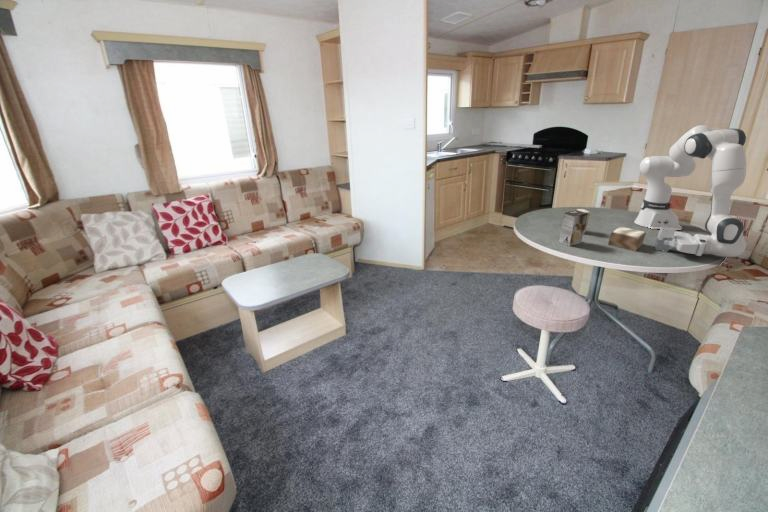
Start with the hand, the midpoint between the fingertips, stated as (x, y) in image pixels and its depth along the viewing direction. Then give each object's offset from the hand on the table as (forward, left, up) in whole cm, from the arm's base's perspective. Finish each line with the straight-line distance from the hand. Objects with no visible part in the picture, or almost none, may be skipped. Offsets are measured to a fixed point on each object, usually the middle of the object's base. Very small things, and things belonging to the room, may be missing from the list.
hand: (662, 238), depth 174 cm
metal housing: (-1, 0, -6) cm, 6 cm away
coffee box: (+40, +6, -6) cm, 41 cm away
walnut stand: (+14, -1, -6) cm, 15 cm away
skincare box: (+34, -14, -6) cm, 37 cm away
